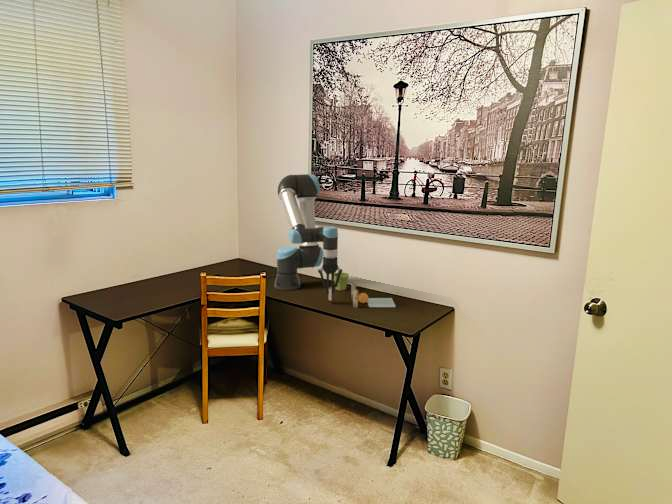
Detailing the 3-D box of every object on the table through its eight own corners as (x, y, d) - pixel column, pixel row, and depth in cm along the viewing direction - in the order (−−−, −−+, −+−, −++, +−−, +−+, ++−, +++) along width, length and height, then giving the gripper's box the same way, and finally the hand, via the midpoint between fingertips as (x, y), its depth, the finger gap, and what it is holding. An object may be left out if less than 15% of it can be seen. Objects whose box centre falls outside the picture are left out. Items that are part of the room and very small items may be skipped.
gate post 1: (351, 298, 271) (351, 282, 269) (355, 298, 271) (356, 282, 269) (351, 299, 268) (351, 283, 266) (356, 299, 268) (356, 283, 266)
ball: (355, 295, 265) (364, 289, 264) (361, 302, 267) (369, 297, 266) (356, 299, 260) (364, 293, 259) (362, 306, 261) (370, 300, 260)
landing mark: (366, 298, 271) (366, 298, 271) (391, 298, 271) (391, 297, 271) (369, 307, 257) (369, 306, 257) (395, 307, 258) (395, 306, 258)
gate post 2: (352, 306, 259) (353, 289, 256) (357, 306, 259) (358, 289, 257) (353, 307, 256) (353, 291, 254) (358, 307, 256) (358, 291, 254)
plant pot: (347, 292, 281) (347, 277, 279) (331, 290, 283) (331, 276, 281) (350, 287, 290) (350, 272, 288) (334, 286, 292) (334, 271, 290)
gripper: (317, 258, 253) (317, 302, 259) (343, 258, 254) (342, 301, 259) (317, 254, 260) (317, 297, 266) (342, 254, 261) (341, 297, 266)
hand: (330, 299), depth 262 cm, fingers closed
